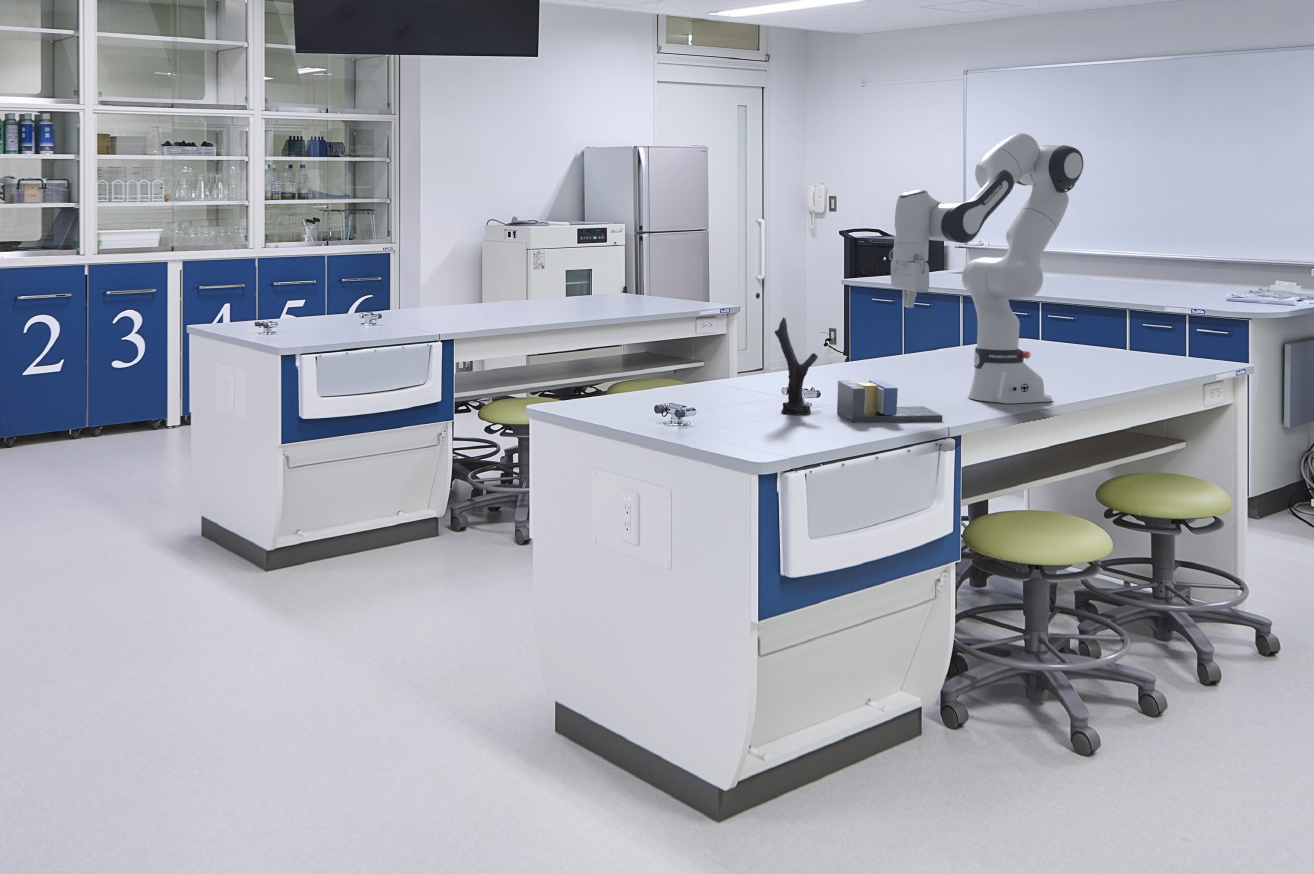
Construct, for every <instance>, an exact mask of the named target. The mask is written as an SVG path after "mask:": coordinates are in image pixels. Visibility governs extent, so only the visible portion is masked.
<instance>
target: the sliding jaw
mask: <svg viewBox="0 0 1314 874" xmlns="http://www.w3.org/2000/svg"><path fill="white" fill-rule="evenodd" d="M868 383H874V384H876V385H878V395H877V412H879V413H881V414H884V415H896V414H897V407H898V390H899V389H898V387H896V386H894V385H893V384H890V383H887V382H885V381H883V380H881V379H880V380H879V379H877V380H876V379H874V380H873V379H872V380H868Z"/></svg>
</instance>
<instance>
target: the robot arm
mask: <svg viewBox="0 0 1314 874" xmlns="http://www.w3.org/2000/svg"><path fill="white" fill-rule="evenodd" d="M1083 170H1084V157H1083V154H1082V153H1081V151H1080V150H1079V149H1078V148H1076V147H1074V146H1070V145H1065V144H1063V145H1057V144H1043V145H1039V144H1038V142H1037V140H1036V139H1035V138H1034V137H1033V136H1032V135H1030V134H1028V133H1023V132H1019V133H1015V134H1013V135H1011V136H1009V137H1007V138H1005V139H1004V140H1003V141H1001V142H999V143H998V144H997V145H995V146H994V147H993V148H992V149H990V150H989V151H988V152H986V153H985V155H983V156H982V157H981V158H980V160H979V161H978V162H977V164H976V165H975V170H974V173H975V174H974V175H975V180H976V182H977V184H978V186H979V188H980V190H979V191H978V192H977V193H976V194H975V195H974V196H973V197H972V198H971V199H970V200H967V201H964V202H959V203H943V202H941V201H938V200H937V199H935V198H933V197H932V196H931V195H930V194H929V193H928V191H927V190H925V189H917V190H909V191H906V192H905V191H904V192H903V193H901V194H900V195H899V196H898V198H897V200H896V204H895V211H894V213H895V214H894V230H895V238H894V241H893V248H892V249H891V250H890V252H889V255H888V258H889V260H890V261H891V262H890V283H891V286H892V287H893V288H896V289H900V290H902V296H903V300H904V301H903V306H904V307H905V308H908V309H913V308H914V307H915V301H916V299H917V295H918V294H917V293H927V292H929V289H930V267H929V264H928V261H929V247H930V246H929V242H930V241H936V242H937V241H939V242H954V243H959V244H966V243H970V242H971V241H972V240H974V239H976V237H977V236H978V234H979V233H980V231H981V229H982V227H983V225H984V224H985V222H986V221H987V219H988V218H989V217H990V216H991V215H992V214H993V213H994V212H995V210H996V209H998V207H1000V205H1001V204H1002V203H1003V202H1004V201H1005V200H1006V199H1007V197H1008V196H1009V195H1010V194H1011V192H1012V190H1013V189H1014V186H1015V184H1017V185H1019V186H1031V192H1030V195H1029V198H1027V200H1026V202H1025V203H1024V204H1023V206H1022V207H1021V209H1020V210H1019V212H1018V214H1017V215H1016V216H1015V218H1014V219H1013V221H1012V223H1011V224H1010V226H1009V228H1008V229H1007V231H1006V232H1005V233H1006V234H1005V239H1006V242H1007V244H1008V249H1007V251H1006V253H1005V255H1004V256H1001V257H998V256H997V257H996V256H995V257H994V256H983V257H978V258H975V259H972V260H970V261H968V262H967V263H966V264H965V266H964V267H963V270H962V273H961V281H962V284H963V286H964V288H965V289H966V291H967V292H968V293H969V295H970V296H971V298H972V301H973V304H974V308H975V311H976V312H975V313H976V317H977V336H976V337H977V339H976V347H975V349H974V354H973V355H974V357H973V364H974V365H973V367H974V371H973V372H974V373H973V377H972V378H973V379H972V381H971V382H972V383H971V387H970V391H969V392H968V395H967V397H968V399H971V400H976V401H980V402H991V403H1000V404H1026V403H1027V404H1028V403H1048V402H1053V396H1051V395H1049V394H1047V393H1045V384H1044V380H1043V378H1042V377H1041V376H1040V375H1039V373H1037V372H1036V371H1034V370H1033V368H1031V367H1030V366H1029V365H1028V364H1026V363H1025V362H1024V359H1025V360H1029V359H1030V358H1031V356H1032V353H1031V352H1030V351H1029V350H1028V351H1027V350H1024V351H1023V350H1022V349H1020V348H1019V341H1020V340H1019V339H1020V338H1019V337H1020V325H1021V324H1020V320H1019V318H1018V316H1017V315H1016V314H1015V313H1014V312H1013V310H1012V308H1011V306H1010V301H1009V300H1022V299H1028V298H1032V297H1035V296H1036V295H1037V294H1038V293H1039V292H1040V290H1041V288H1042V286H1043V282H1044V274H1043V270H1042V268H1041V267H1040V262H1041V258H1042V255H1043V252H1044V250H1045V249H1046V247H1047V246H1048V243H1049V242H1050V240H1051V239H1052V237H1053V235H1054V234H1055V232H1056V230H1057V228H1059V226H1060V223H1061V222H1062V220H1063V218H1064V215H1065V213H1066V211H1067V208H1068V205H1069V199H1070V198H1069V195H1068V192H1070V191H1071V190H1072V189H1073V188H1075V185H1076V183H1077V182H1078V181H1079V180H1080V179H1079V178H1081V177H1080V176H1081V174H1083V173H1082V172H1083Z"/></svg>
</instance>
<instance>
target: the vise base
mask: <svg viewBox="0 0 1314 874" xmlns="http://www.w3.org/2000/svg"><path fill="white" fill-rule="evenodd" d="M836 403H837V405H836V407H837V408H836V414H837V415H839V416H841V417H843V418H844V419H846V421H847V420H848V422H851V424H852V423H853V424H855V423H857V422H866V423H912V422H914V423H919V422H921V423H922V422H923V423H925V422H927V423H929V422H943V414H940V413H938V412H936V411H934V410H933V409H930V408H928V407H925V406H923V405H921V406H897V414H896V415H884V414H881V413H879V412H877V413H865V412H866V389H865V388H863V387H861V386H859V385H857V382H856V383H855V382H853V381H851V380H849V379H848V380H838V381H837V402H836ZM857 424H858V423H857Z"/></svg>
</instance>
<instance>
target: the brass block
mask: <svg viewBox="0 0 1314 874" xmlns="http://www.w3.org/2000/svg"><path fill="white" fill-rule="evenodd" d="M856 384H857V385H859V386H861V387H863V388H865V389H866V412H865V413H877V395H878V385H876V384H874V383H869V382H856Z"/></svg>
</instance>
